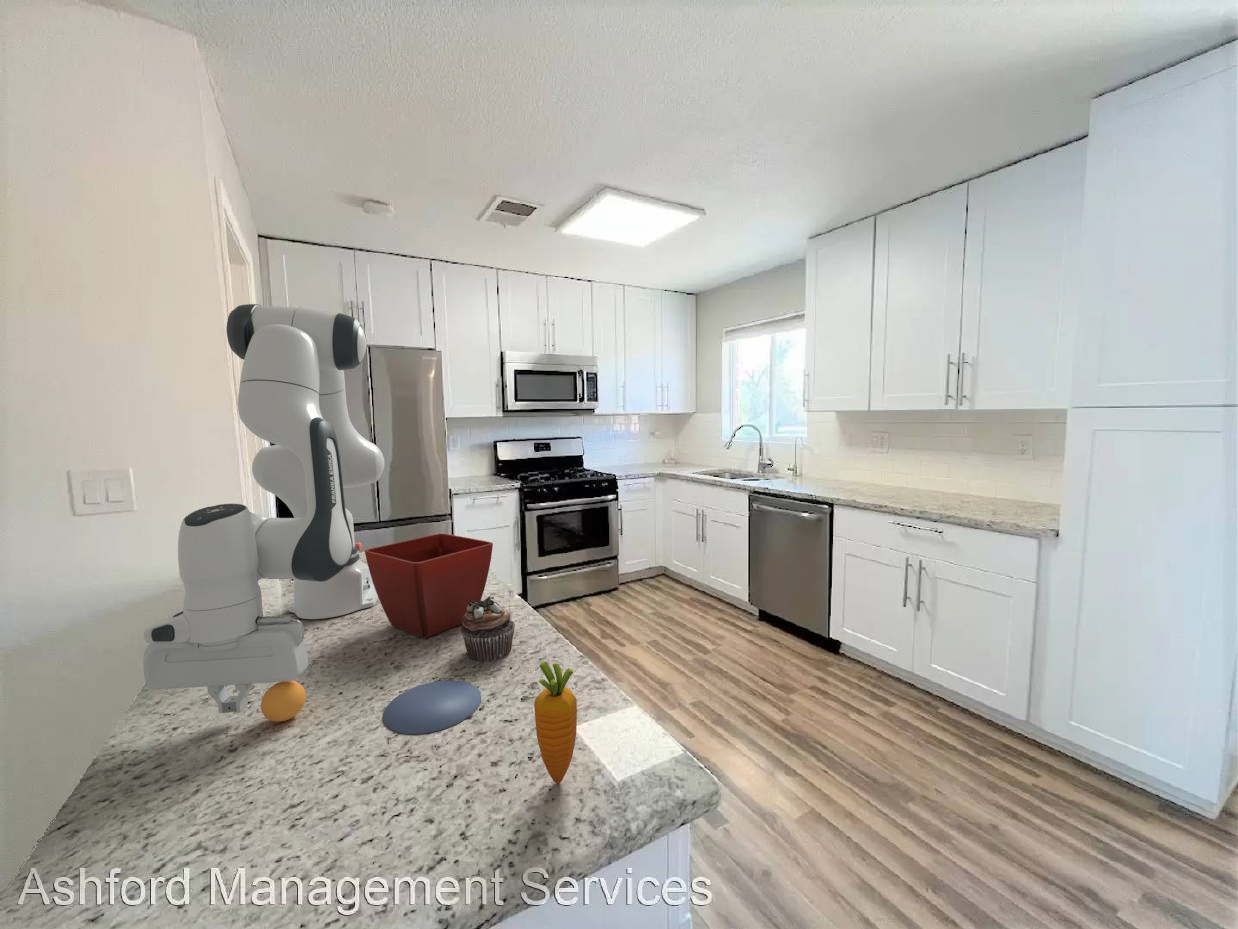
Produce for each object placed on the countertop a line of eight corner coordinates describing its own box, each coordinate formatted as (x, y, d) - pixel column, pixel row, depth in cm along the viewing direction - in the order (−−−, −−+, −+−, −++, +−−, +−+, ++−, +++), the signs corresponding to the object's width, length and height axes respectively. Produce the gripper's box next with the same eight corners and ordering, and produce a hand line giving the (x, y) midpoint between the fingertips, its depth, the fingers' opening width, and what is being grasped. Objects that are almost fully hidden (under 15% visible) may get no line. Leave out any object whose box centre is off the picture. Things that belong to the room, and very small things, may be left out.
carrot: (587, 781, 60) (584, 661, 58) (555, 805, 56) (552, 678, 55) (559, 762, 63) (556, 648, 62) (528, 784, 60) (523, 663, 58)
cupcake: (480, 670, 87) (478, 614, 86) (453, 652, 94) (450, 600, 93) (526, 651, 94) (524, 599, 93) (497, 636, 101) (495, 587, 100)
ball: (307, 669, 76) (318, 702, 76) (272, 677, 76) (284, 711, 76) (283, 689, 70) (295, 725, 71) (246, 698, 70) (258, 734, 71)
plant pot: (444, 600, 121) (441, 531, 120) (498, 616, 110) (495, 542, 109) (367, 627, 106) (362, 549, 104) (420, 650, 95) (415, 563, 93)
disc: (400, 684, 83) (400, 683, 82) (487, 678, 84) (487, 677, 84) (368, 738, 69) (368, 737, 69) (472, 729, 70) (472, 728, 70)
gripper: (312, 606, 76) (319, 693, 77) (166, 614, 74) (175, 703, 75) (290, 623, 70) (297, 717, 71) (129, 632, 68) (140, 729, 69)
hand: (233, 710), depth 73 cm, fingers closed
